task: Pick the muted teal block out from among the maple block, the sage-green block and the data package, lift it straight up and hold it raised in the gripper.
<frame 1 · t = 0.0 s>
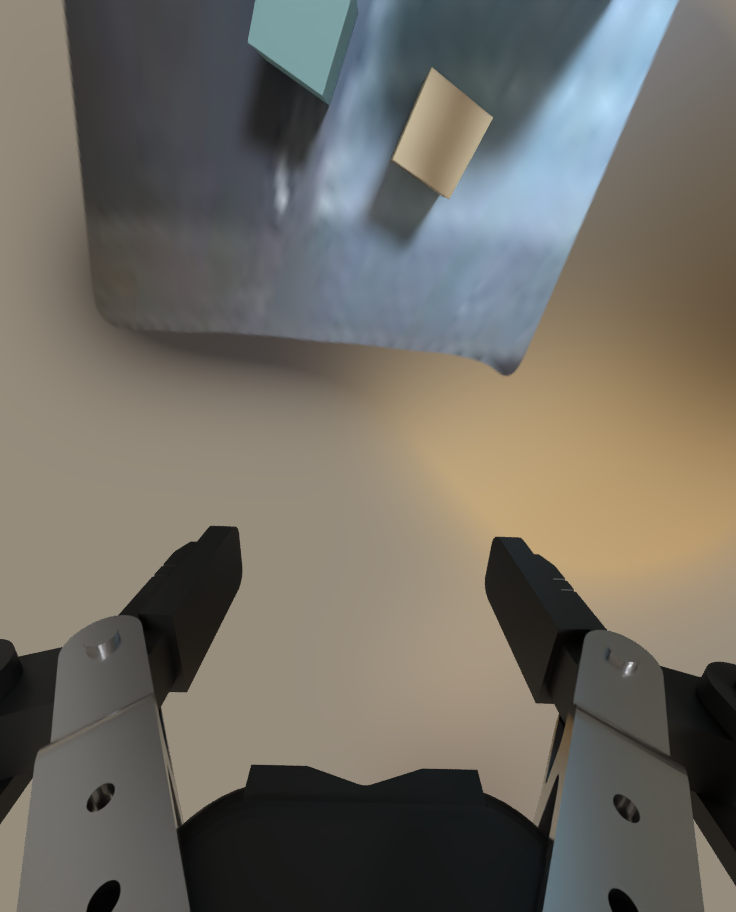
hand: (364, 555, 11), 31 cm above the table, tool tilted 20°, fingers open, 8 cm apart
maple block: (432, 142, 28), on the table
teal block: (311, 38, 24), on the table
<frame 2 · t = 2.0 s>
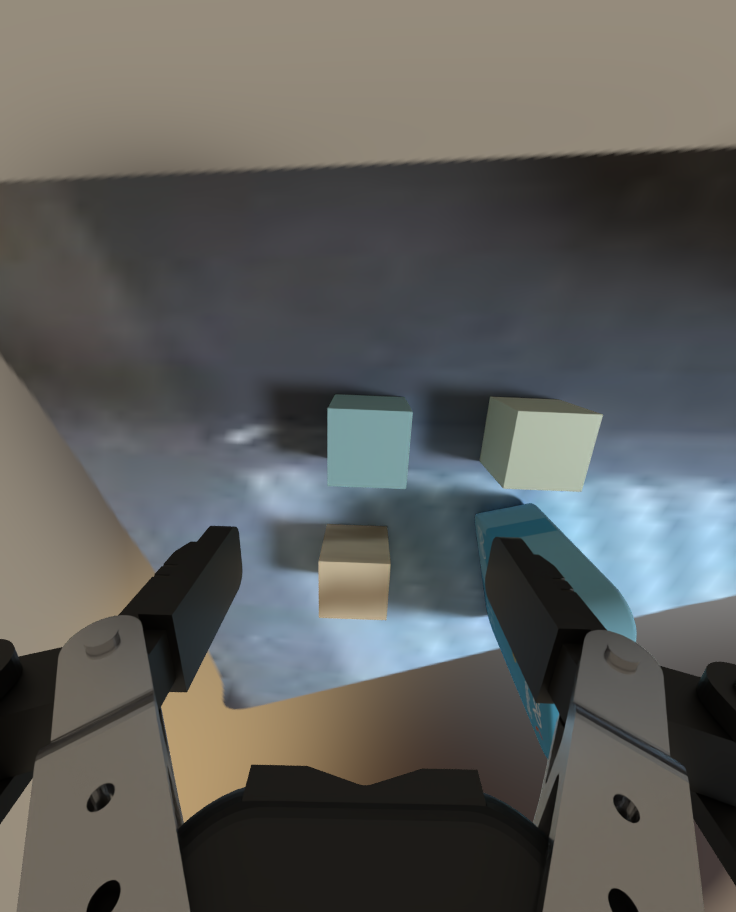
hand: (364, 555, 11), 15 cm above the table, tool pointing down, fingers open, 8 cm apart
maple block: (356, 550, 29), on the table
sage block: (517, 431, 25), on the table
teal block: (368, 428, 25), on the table
data package: (505, 560, 30), on the table
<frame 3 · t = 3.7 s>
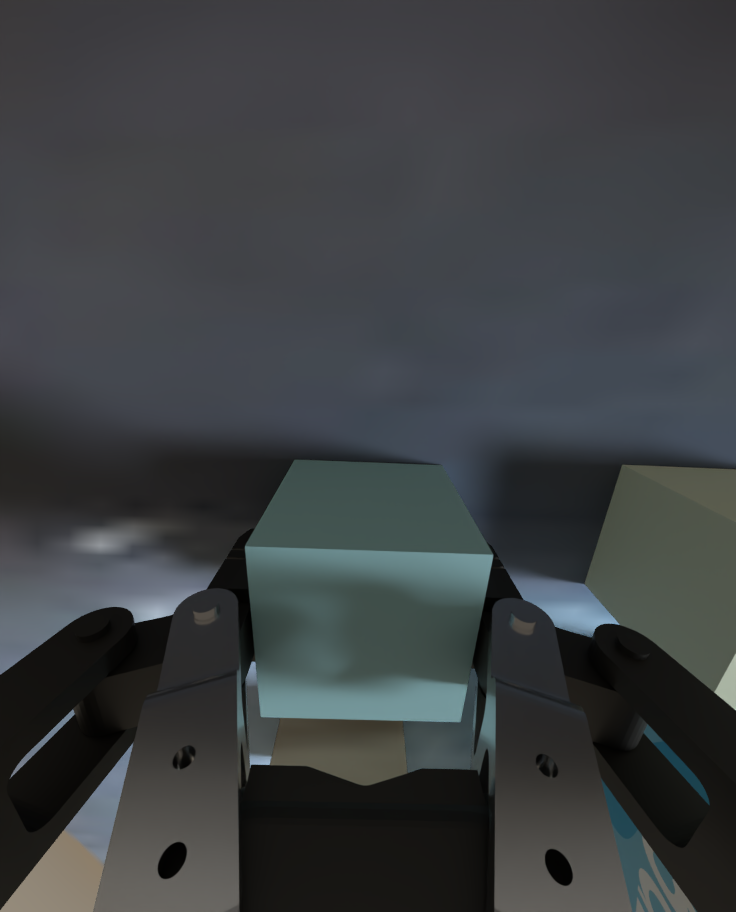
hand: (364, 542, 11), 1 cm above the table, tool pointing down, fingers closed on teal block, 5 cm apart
maple block: (342, 723, 16), on the table
sage block: (667, 529, 13), on the table
teal block: (365, 526, 12), on the table, touching gripper
data package: (608, 734, 17), on the table
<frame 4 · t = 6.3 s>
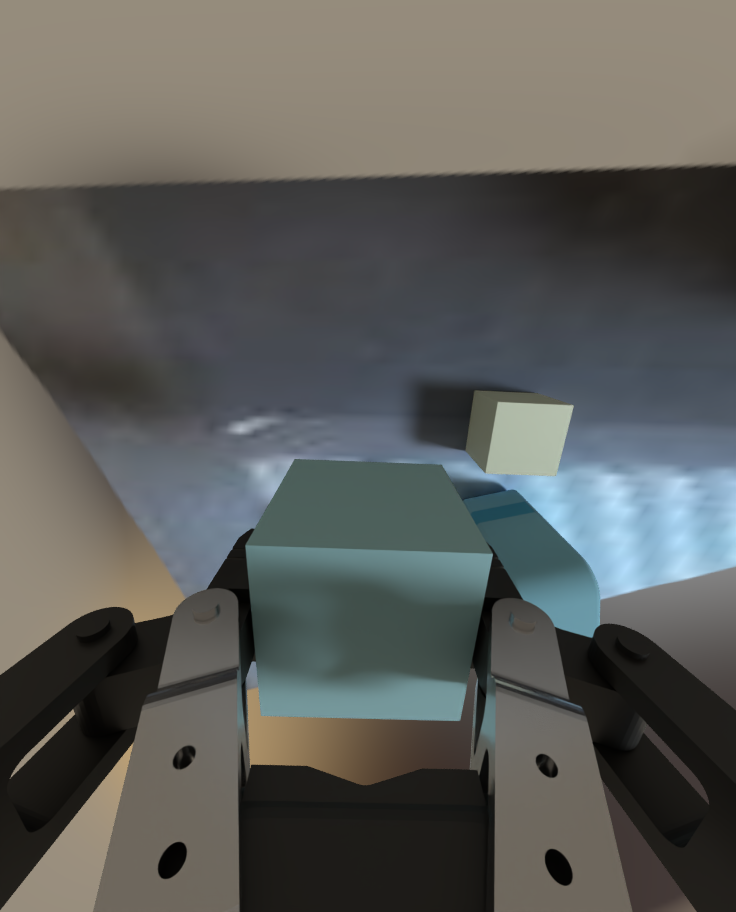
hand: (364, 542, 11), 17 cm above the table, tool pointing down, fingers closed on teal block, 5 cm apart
sage block: (499, 422, 28), on the table
teal block: (365, 526, 12), point 16 cm above the table, touching gripper
data package: (490, 544, 32), on the table
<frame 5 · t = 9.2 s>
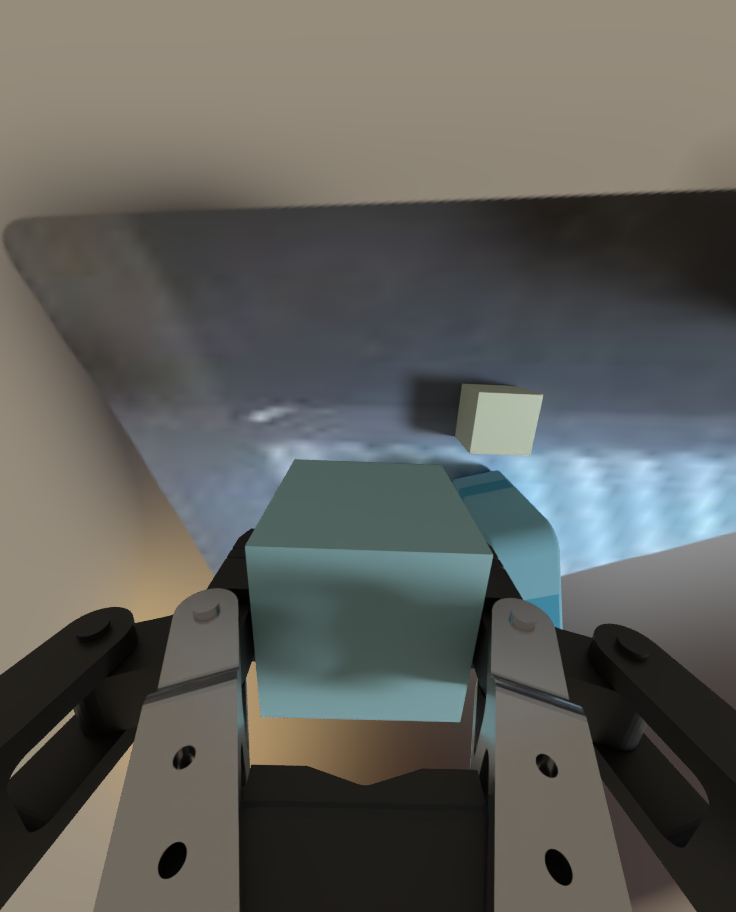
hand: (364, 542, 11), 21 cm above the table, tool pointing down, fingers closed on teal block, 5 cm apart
sage block: (484, 411, 32), on the table
teal block: (365, 526, 12), point 20 cm above the table, touching gripper
data package: (478, 520, 36), on the table
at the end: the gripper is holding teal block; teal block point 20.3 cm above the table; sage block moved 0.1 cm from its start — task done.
